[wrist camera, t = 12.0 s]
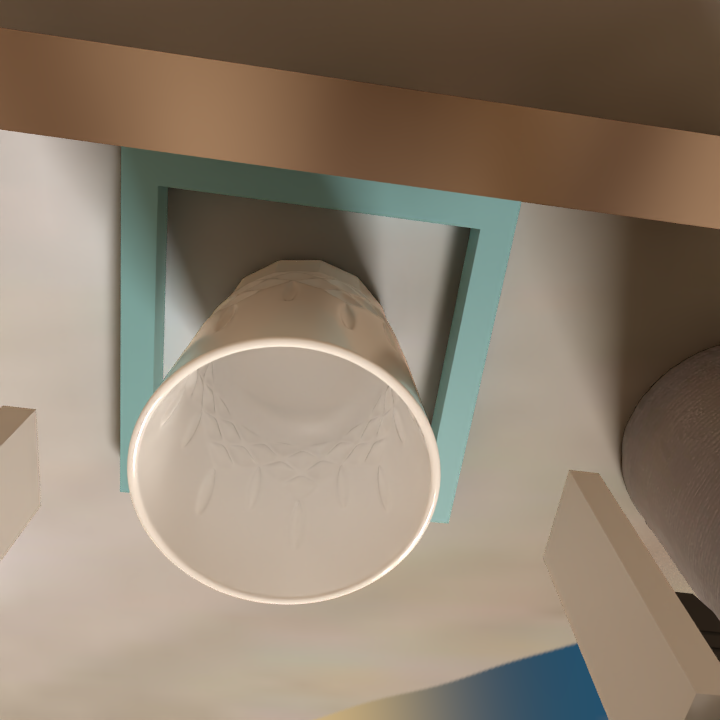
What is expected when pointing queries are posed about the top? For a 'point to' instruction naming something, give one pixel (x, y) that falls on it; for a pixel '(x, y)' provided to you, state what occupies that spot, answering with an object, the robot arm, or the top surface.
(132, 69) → the brown wooden board
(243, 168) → the keeper frame
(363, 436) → the white cup
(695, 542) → the pillar candle
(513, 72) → the top surface
